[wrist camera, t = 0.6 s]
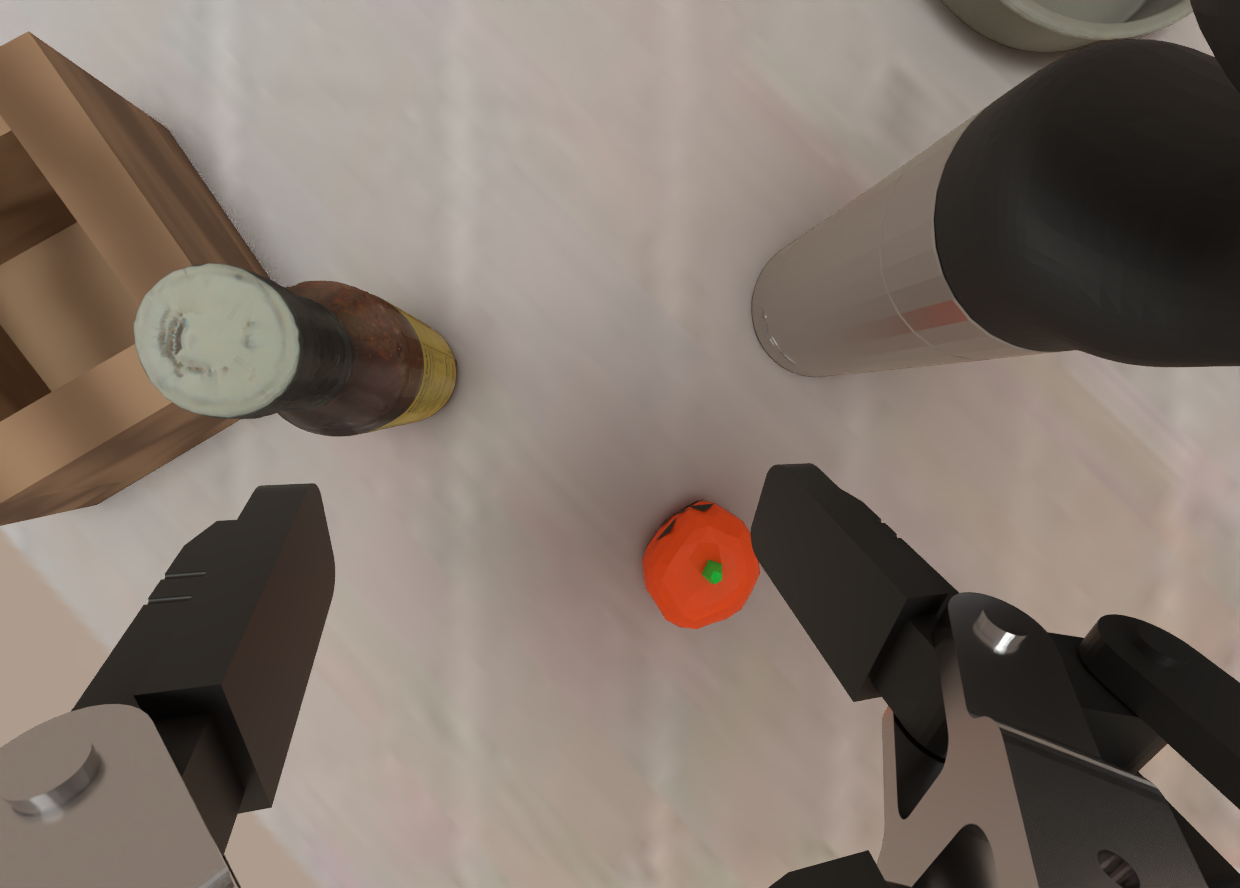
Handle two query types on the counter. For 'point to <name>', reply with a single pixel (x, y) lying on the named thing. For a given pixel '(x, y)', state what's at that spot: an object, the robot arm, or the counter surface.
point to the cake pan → (1066, 20)
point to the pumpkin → (700, 566)
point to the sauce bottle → (289, 352)
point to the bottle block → (88, 283)
